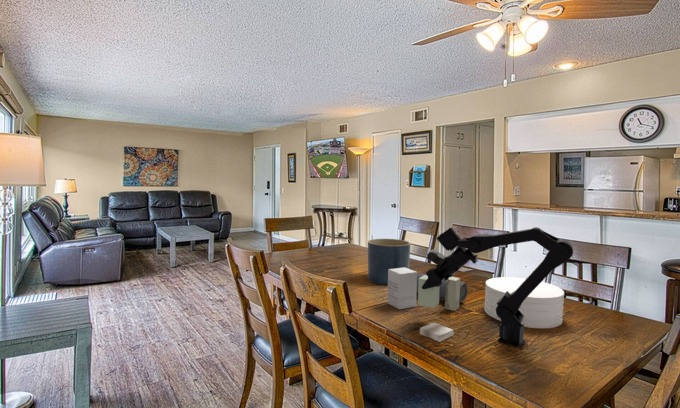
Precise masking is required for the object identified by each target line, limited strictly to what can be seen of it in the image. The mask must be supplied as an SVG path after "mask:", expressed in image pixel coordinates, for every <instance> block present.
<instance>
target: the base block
mask: <svg viewBox="0 0 680 408" xmlns="http://www.w3.org/2000/svg"><path fill="white" fill-rule="evenodd" d="M419 335H422V336H425V337H426V338H429V339H432V340H434V341H436V342H439V343H440V342H442V341H444V340H446V339H449V338H451V337H453V336H454V329H452V328H449V327H447V326H444V325H442V324H439V323H436V322H430V323H429V324H427V325H423V326H422V327H419Z"/></svg>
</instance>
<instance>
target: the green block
mask: <svg viewBox="0 0 680 408" xmlns="http://www.w3.org/2000/svg"><path fill="white" fill-rule="evenodd" d="M427 279H428V276H427V275H424V276H422V277H420V278H419V282H418V292H417V306H421V307H425V308H426V307H427V308H429V309H430V308H431V309H435V308H437V306H438V305H439V304H440V300H439V287H432V288H428V289H424V290H423V289H422V286H423V284H424V283H425V282H426V280H427Z"/></svg>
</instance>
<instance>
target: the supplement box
mask: <svg viewBox="0 0 680 408" xmlns="http://www.w3.org/2000/svg"><path fill="white" fill-rule="evenodd" d="M417 273H418V272H417V271H416V270H413V269H410V268H409V269H408V268H405V267H404V268H396V269H388V285H387V304H388V305H390V306H392V307H394V308H395V309H398V310H403V309H410V308H414V307H417V297H418V292H417Z"/></svg>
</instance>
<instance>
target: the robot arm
mask: <svg viewBox="0 0 680 408" xmlns="http://www.w3.org/2000/svg"><path fill="white" fill-rule="evenodd" d="M436 240H437V241H438V243H439V244H440V245H441V246H442V248H444V249H445V250H446V251H450V252H452V253H451V254H450V255H447V256H446V255H444V254H443V253H441V252H439V251H438V250H436V249H434V248H432V249H431V250H429V251H428V253H427V254H426V258H425V259H426V260H428V261H431V262H432V263H433V264H435V267H431V268H430V269H428V270H427V271H425V274H426V275H427V276H428V279H427V280H426V282H425V283H424V284H423V286H422V289H423V290H424V289H428V288H432V287H439V286H440V285H441V284H442V283H444V281H445V280H448V279H449V277H450V278H451V277H454V275H455V274H457V272H458V271H459V270H461V269H462V267H464V266H465V265H466V264H467V263H469V262H470V261H471V262H472V264H476V263H478V257H479V255H478V253H483V252H486V251H487V250H491V249H493V248H496V247H501V246H502V247H503V246H507V245H515V244H521V243H528V242H535V243H537V244H538V245H539V246H541V247H542V248H544V249H545V250H546V251H547V253H546V255H545V257H544V258H543V260H542V261H541V262H540V263H539V264H538V265H537V267H536V268H534V270H533V271H532V272H531V273H530V274H529V275H528V276H527V277H526V278H525V279H526V280H525V281H524V282H523V283H522V284H521V285H520V286H519V287H518V288H517V289H516V290H515V291H514V292H512V293H511V294H510V293H509V292H508V291H507V292H506V293H505V295H504V296H503V297H502V298H500V299H499V301H498V302H497V305H498V306H497V307H496V314H497V316H498V317H499V318H500V319H501V321H500V324H499V328H498V337H499V338H497V341H498V342H501V343H504V344H507V345H510V346H512V347H515V348H518V347H520V346H521V345H523V344H525V343H526V340H525V339H524V332H525V330H524V329H525V327H524V325H523V324H521V322H522V320H523V317H524V315H523V314H522V313H521V312H520V311H519V310H518V309H519V308H520V306H521V304H522V302H523V301H524V300H525V299H526V298H527V297H528V296H529V294H530V293H531V292H532V291H533V290H534V289H535V288H536V287H537V286H538V285H539V284H540V283H541V282H543V281H544V280H545V279H546V277H548V275H550V273H551V272H552V271H553V270H555V269H556V268H558V267H559V266H562V265H563V264H564V263H566V262H567V261H568V260H570V259H571V258H572V257H573V254H574V246H573V244H572V243H571V242H570V241H569V240H567V239H563V238H561V239H559V238H557V236H554V235H552V234H550V233H548V232H546V231H545V230H542V229H541V228H540V227H535V226H534V227H532V228H528V229H523V230H517V231H510V232H509V231H508V232H504V233H498V234H482V233H481V234H478V233H477V234H475V235H472V236H471V237H460V235H459V234H458V233H457V232H456V231H455V229H454V228H453V227H449V228H448V229H446V230H445V231H443V232H441V233H440V234H439V235H438V236H437V237H436ZM456 248H457V249H456Z"/></svg>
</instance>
